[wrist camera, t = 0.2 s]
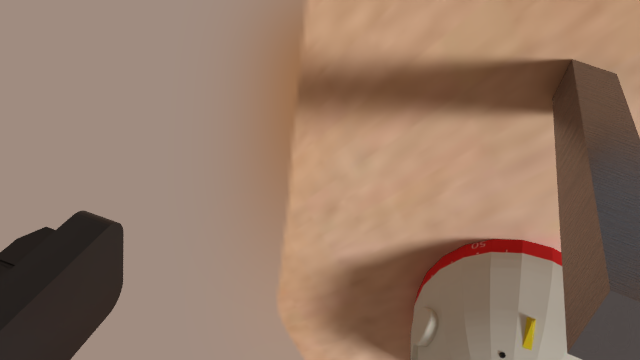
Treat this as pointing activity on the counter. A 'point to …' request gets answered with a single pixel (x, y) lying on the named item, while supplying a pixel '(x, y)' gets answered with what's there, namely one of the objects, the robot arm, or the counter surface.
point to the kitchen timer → (492, 305)
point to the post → (598, 214)
